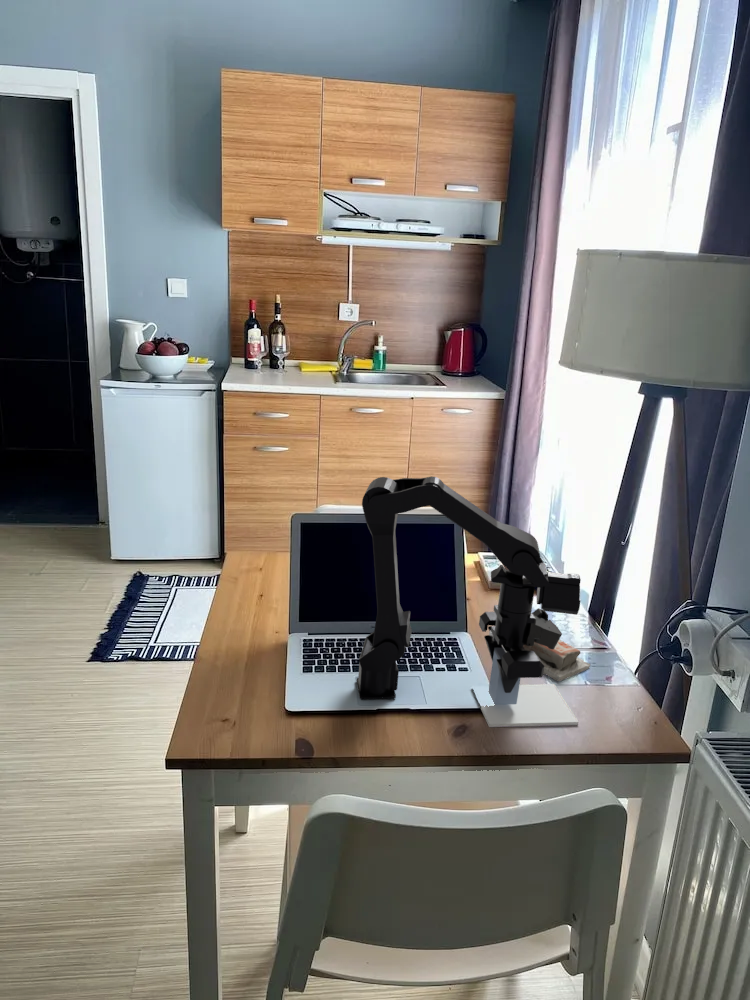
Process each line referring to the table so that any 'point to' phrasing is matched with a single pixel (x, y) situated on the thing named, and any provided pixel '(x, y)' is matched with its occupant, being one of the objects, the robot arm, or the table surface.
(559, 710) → the mat
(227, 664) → the table surface
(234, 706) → the table surface
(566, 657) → the packaged product
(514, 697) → the block
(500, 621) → the robot arm
